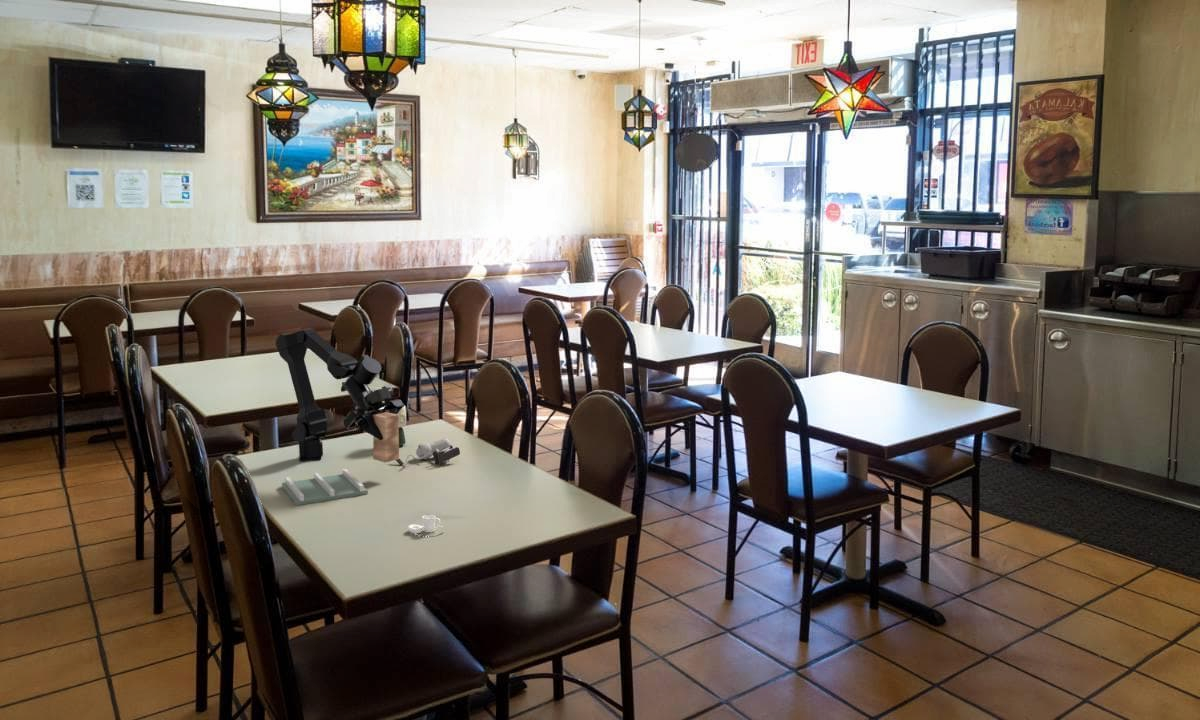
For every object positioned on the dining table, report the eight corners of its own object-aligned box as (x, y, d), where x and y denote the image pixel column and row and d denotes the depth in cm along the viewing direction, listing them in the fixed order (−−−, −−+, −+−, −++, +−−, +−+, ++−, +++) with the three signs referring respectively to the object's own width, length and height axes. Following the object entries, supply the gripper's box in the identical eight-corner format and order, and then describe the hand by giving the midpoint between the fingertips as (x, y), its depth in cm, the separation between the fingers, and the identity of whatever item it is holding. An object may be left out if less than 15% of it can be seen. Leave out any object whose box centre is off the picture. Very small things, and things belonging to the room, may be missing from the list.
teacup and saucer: (403, 535, 230) (402, 519, 229) (420, 524, 237) (420, 509, 236) (434, 540, 227) (434, 524, 226) (451, 529, 234) (451, 513, 233)
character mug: (376, 445, 307) (374, 406, 305) (393, 440, 312) (392, 402, 310) (397, 451, 300) (396, 411, 298) (415, 446, 306) (414, 407, 303)
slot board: (281, 486, 265) (281, 478, 265) (349, 476, 274) (349, 468, 274) (296, 505, 250) (296, 496, 249) (367, 493, 259) (367, 485, 259)
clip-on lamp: (406, 480, 281) (462, 459, 288) (401, 461, 279) (458, 440, 286) (394, 466, 291) (448, 446, 298) (389, 448, 288) (444, 428, 296)
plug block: (385, 462, 268) (384, 417, 266) (373, 459, 271) (372, 415, 269) (398, 458, 272) (398, 414, 270) (387, 455, 275) (386, 412, 273)
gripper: (348, 382, 262) (377, 427, 258) (398, 372, 277) (426, 414, 273) (330, 406, 268) (358, 450, 264) (381, 394, 283) (408, 436, 279)
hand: (389, 437), depth 270 cm, fingers closed on plug block, 5 cm apart
